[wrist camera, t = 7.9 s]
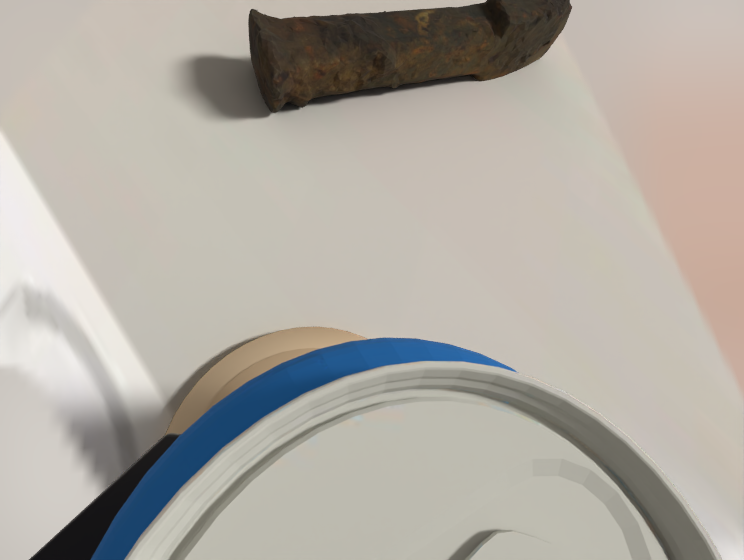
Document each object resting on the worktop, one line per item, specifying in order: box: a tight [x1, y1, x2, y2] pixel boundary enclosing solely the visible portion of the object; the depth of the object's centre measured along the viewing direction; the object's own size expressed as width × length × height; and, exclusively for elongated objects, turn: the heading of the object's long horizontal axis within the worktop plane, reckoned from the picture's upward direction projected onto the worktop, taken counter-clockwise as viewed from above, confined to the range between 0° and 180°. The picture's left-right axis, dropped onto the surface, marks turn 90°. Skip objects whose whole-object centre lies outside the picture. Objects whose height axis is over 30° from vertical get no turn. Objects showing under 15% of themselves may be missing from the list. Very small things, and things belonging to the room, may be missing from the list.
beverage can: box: [91, 338, 722, 560], centre depth 8 cm, size 6×6×12 cm
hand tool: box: [249, 0, 572, 113], centre depth 21 cm, size 19×4×5 cm, turn 109°
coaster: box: [165, 327, 367, 435], centre depth 15 cm, size 11×11×1 cm
